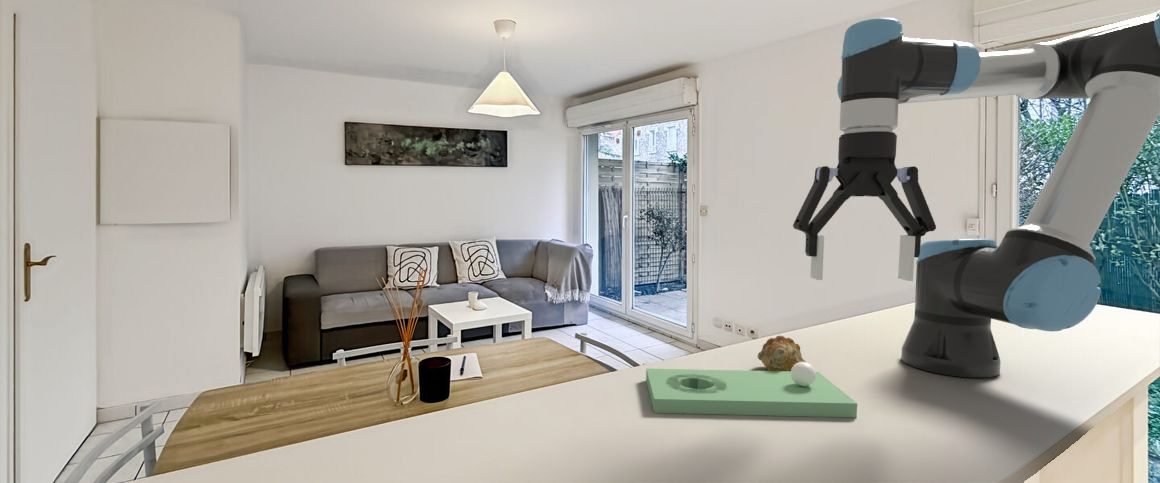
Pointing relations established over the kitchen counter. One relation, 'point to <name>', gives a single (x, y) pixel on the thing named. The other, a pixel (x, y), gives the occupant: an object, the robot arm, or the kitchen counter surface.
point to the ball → (803, 374)
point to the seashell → (780, 354)
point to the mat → (745, 393)
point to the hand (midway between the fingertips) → (860, 279)
